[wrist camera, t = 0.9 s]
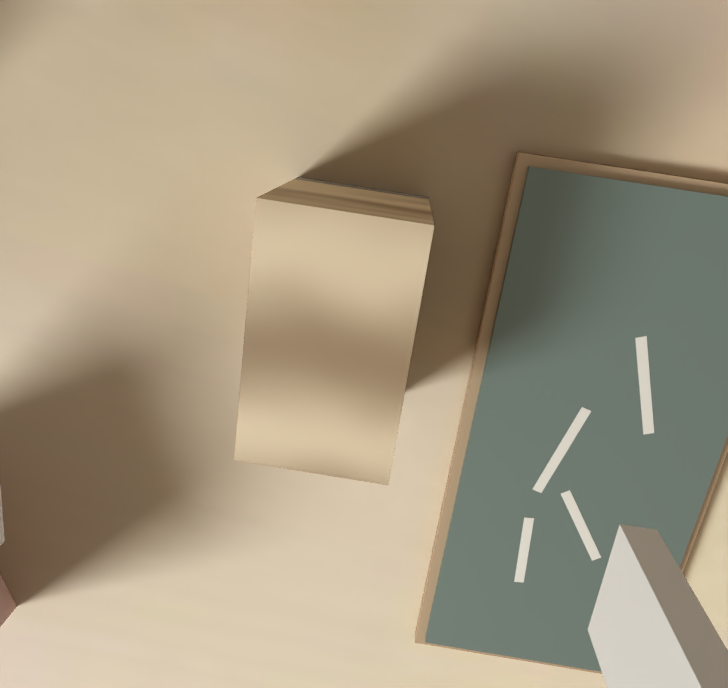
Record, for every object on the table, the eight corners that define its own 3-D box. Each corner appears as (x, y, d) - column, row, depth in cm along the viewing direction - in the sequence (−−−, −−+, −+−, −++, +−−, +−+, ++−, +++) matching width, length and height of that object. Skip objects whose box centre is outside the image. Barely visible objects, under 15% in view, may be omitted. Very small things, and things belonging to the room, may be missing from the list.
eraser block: (298, 177, 30) (256, 198, 22) (428, 196, 30) (434, 225, 22) (277, 377, 33) (233, 460, 25) (394, 396, 33) (388, 485, 25)
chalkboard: (517, 151, 29) (520, 152, 28) (813, 196, 28) (827, 199, 27) (414, 634, 37) (414, 648, 37) (639, 672, 37) (645, 686, 36)
